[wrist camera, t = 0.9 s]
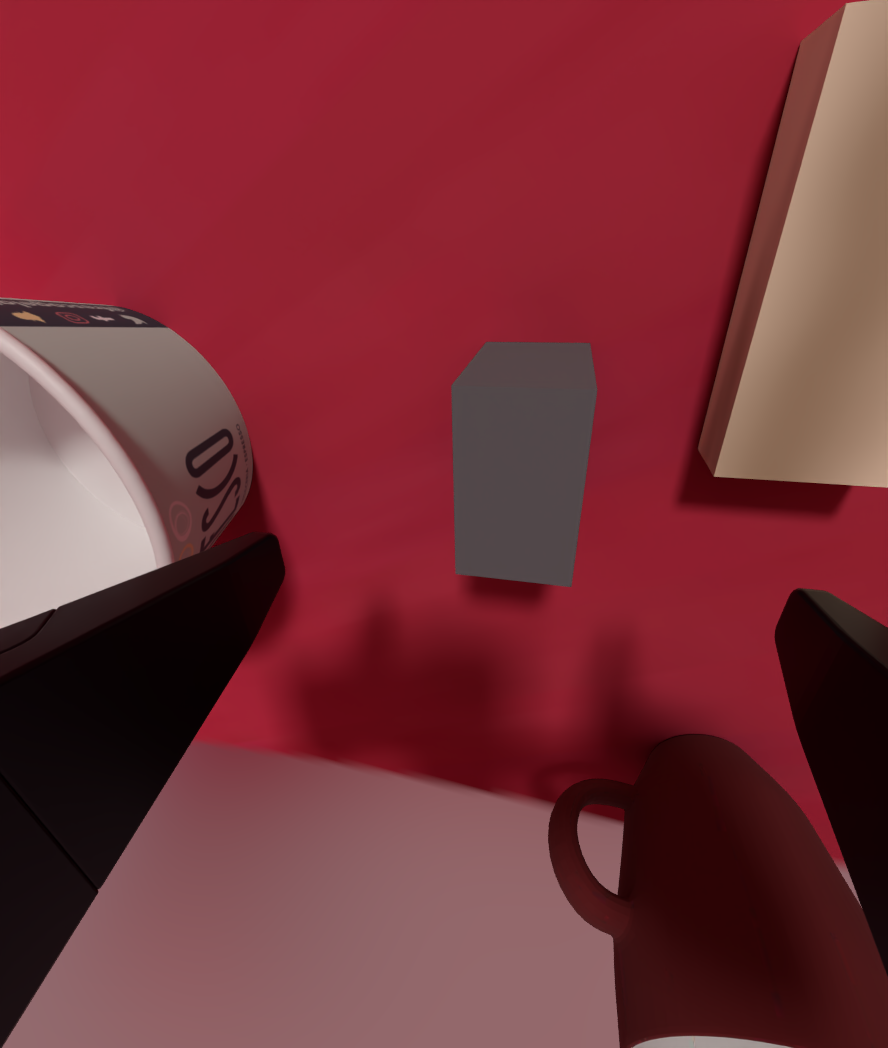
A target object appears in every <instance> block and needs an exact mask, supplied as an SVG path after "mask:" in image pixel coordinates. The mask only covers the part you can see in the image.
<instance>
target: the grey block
mask: <svg viewBox="0 0 888 1048" xmlns="http://www.w3.org/2000/svg"><path fill="white" fill-rule="evenodd" d="M451 387H452V432H453V477H454V523H455V568H456V574H461V575H470V576H478V577H487V578H496V579H505V580H514V581H523V582H532V583H540V584H549V585H558V586H567V587H571V585H572V577H573V570H574V562H575V555H576V547H577V540H578V532H579V524H580V517H581V509H582V502H583V494H584V486H585V479H586V471H587V464H588V456H589V448H590V441H591V433H592V426H593V418H594V411H595V403H596V395H597V385H596V379H595V372H594V365H593V359H592V352H591V346H590V343H535V342H486V343H485V344H484V346H483V347H482V348H481V349H480V351H479V352H478V353H477V354H476V356H475V357H474V358H473V359H472V361H471V362H470V363H469V364H468V366H467V367H466V368H465V369H464V371H463V372H462V373H461V374H460V375H459V377H458V378H457V379H456V380H455V382H454V383H453V384H452V385H451Z"/></svg>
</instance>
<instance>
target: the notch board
mask: <svg viewBox="0 0 888 1048" xmlns="http://www.w3.org/2000/svg"><path fill="white" fill-rule="evenodd" d="M698 450H699V452H700V454H701V455H702V457H703V459H704V461H705V462H706V464H707V466H708V467H709V469H710V471H711V473H712V474H713V476H714V477H728V478H744V479H760V480H776V481H792V482H808V483H824V484H840V485H856V486H872V487H888V0H870V1H862V2H853V3H846V4H845V5H844V6H843V7H842V8H840V9H839V10H838V11H837V12H836V13H834V14H833V15H832V16H831V17H830V18H828V19H827V20H826V21H825V22H824V23H823V24H821V25H820V26H819V27H818V28H817V29H815V30H814V31H813V32H812V33H811V34H809V35H808V36H807V37H806V38H805V39H804V40H802V41H801V43H800V47H799V51H798V55H797V59H796V63H795V67H794V71H793V75H792V79H791V83H790V87H789V91H788V95H787V99H786V103H785V106H784V110H783V114H782V118H781V122H780V126H779V130H778V134H777V138H776V142H775V146H774V150H773V154H772V158H771V162H770V166H769V170H768V173H767V177H766V181H765V185H764V189H763V193H762V197H761V201H760V205H759V209H758V213H757V217H756V221H755V225H754V229H753V233H752V237H751V241H750V244H749V248H748V252H747V256H746V260H745V264H744V268H743V272H742V276H741V280H740V284H739V288H738V292H737V296H736V300H735V304H734V308H733V311H732V315H731V319H730V323H729V327H728V331H727V335H726V339H725V343H724V347H723V351H722V355H721V359H720V363H719V367H718V371H717V375H716V378H715V382H714V386H713V390H712V394H711V398H710V402H709V406H708V410H707V414H706V418H705V422H704V426H703V430H702V434H701V438H700V442H699V445H698Z"/></svg>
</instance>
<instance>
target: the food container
mask: <svg viewBox="0 0 888 1048" xmlns="http://www.w3.org/2000/svg"><path fill="white" fill-rule="evenodd" d="M252 473H253V458H252V449H251V444H250V439H249V435H248V432H247V428H246V425H245V422H244V420H243V417H242V415H241V413H240V410H239V408H238V406H237V404H236V402H235V400H234V398H233V397H232V395H231V393H230V391H229V390H228V388H227V387H226V385H225V384H224V382H223V381H222V379H221V378H220V377H219V375H218V374H217V373H216V371H215V370H214V369H213V368H212V366H211V365H210V364H209V363H208V362H207V361H206V360H205V358H204V357H203V356H202V355H201V354H200V353H199V352H198V351H197V350H196V349H195V348H193V347H192V346H191V345H190V344H189V343H188V342H187V341H185V340H184V339H183V338H182V337H180V336H179V335H178V334H176V333H175V332H174V331H172V330H171V329H169V328H168V327H166V326H165V325H163V324H161V323H160V322H158V321H156V320H154V319H152V318H150V317H148V316H146V315H143V314H141V313H139V312H136V311H133V310H130V309H126V308H122V307H117V306H111V305H100V304H86V303H71V302H57V301H42V300H27V299H13V298H0V628H3V627H6V626H9V625H11V624H14V623H17V622H19V621H22V620H25V619H27V618H30V617H33V616H35V615H38V614H40V613H43V612H46V611H48V610H51V609H57V608H58V607H59V606H62V605H64V604H67V603H69V602H72V601H75V600H77V599H80V598H82V597H85V596H88V595H90V594H93V593H95V592H98V591H101V590H103V589H106V588H109V587H111V586H114V585H116V584H119V583H122V582H124V581H127V580H129V579H132V578H135V577H137V576H140V575H142V574H145V573H148V572H150V571H153V570H155V569H158V568H161V567H163V566H166V565H169V564H171V563H174V562H176V561H179V560H182V559H184V558H187V557H189V556H192V555H195V554H197V553H200V552H202V551H205V550H208V549H210V548H211V547H212V545H213V544H214V543H215V541H216V540H217V539H218V537H219V536H220V535H221V533H222V532H223V531H224V529H225V528H226V527H227V525H228V524H229V523H230V521H231V520H232V519H233V517H234V516H235V515H236V513H237V512H238V511H239V509H240V508H241V506H242V505H243V503H244V502H245V500H246V497H247V495H248V492H249V489H250V486H251V481H252Z"/></svg>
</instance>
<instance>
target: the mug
mask: <svg viewBox="0 0 888 1048" xmlns="http://www.w3.org/2000/svg"><path fill="white" fill-rule="evenodd" d="M590 804H603V805H610V806H614V807H618V808H622V809H624V810H625V818H624V831H623V844H622V857H621V867H620V878H619V888H618V895H616V894H614V893H612V892H610V891H609V890H607V889H606V888H605V887H603V886H602V885H601V884H600V883H599V882H598V881H597V879H596V878H595V877H594V876H593V874H592V873H591V871H590V869H589V868H588V866H587V864H586V862H585V859H584V857H583V855H582V852H581V849H580V845H579V841H578V835H577V823H578V817H579V813H580V811H581V809H582V808H583V807H584V806H586V805H590ZM548 843H549V851H550V858H551V862H552V866H553V869H554V873H555V875H556V877H557V880H558V882H559V884H560V887H561V889H562V891H563V893H564V894H565V896H566V898H567V900H568V901H569V903H570V904H571V905H572V907H573V908H574V910H575V911H576V912H577V913H578V914H579V915H580V916H581V917H582V918H583V919H584V920H585V921H586V922H587V923H589V924H590V925H592V926H593V927H595V928H596V929H599V930H600V931H602V932H605V933H607V934H609V935H611V936H612V937H613V942H614V971H615V990H616V1003H617V1015H618V1029H619V1042H620V1048H888V977H887V974H886V971H885V969H884V966H883V963H882V960H881V958H880V955H879V952H878V950H877V947H876V944H875V942H874V939H873V936H872V933H871V931H870V928H869V925H868V923H867V920H866V917H865V915H864V912H863V909H862V908H861V906H860V904H859V903H858V901H857V899H856V898H855V896H854V894H853V893H852V891H851V889H850V888H849V886H848V884H847V883H846V881H845V879H844V878H843V877H842V874H841V873H840V871H839V869H838V868H837V866H836V864H835V863H834V861H833V859H832V858H831V856H830V855H829V853H828V851H827V850H826V848H825V846H824V845H823V843H822V841H821V840H820V838H819V836H818V835H817V833H816V831H815V830H814V828H813V826H812V825H811V823H810V822H809V820H808V819H807V817H806V815H805V814H804V813H803V811H802V810H801V809H800V807H799V806H798V805H797V803H796V802H795V801H794V800H793V799H792V798H791V796H790V795H789V794H788V793H787V792H786V791H785V790H784V789H783V788H782V787H781V786H780V785H779V784H778V783H777V782H776V781H775V780H774V779H773V778H772V777H771V776H770V775H769V774H768V773H767V772H766V771H765V770H763V769H762V768H761V767H760V766H759V765H758V764H757V763H756V762H755V761H754V760H753V759H752V758H751V757H750V756H748V755H747V754H746V753H745V752H744V751H743V750H742V749H740V748H739V747H738V746H736V745H735V744H733V743H731V742H729V741H727V740H724V739H721V738H718V737H714V736H709V735H698V734H693V735H682V736H677V737H673V738H671V739H668V740H666V741H664V742H662V743H660V744H659V745H658V746H657V747H656V748H655V749H654V750H653V751H652V753H651V754H650V756H649V758H648V760H647V762H646V764H645V766H644V768H643V769H642V771H641V773H640V775H639V777H638V779H637V781H636V783H635V784H634V786H632V785H629V784H625V783H622V782H617V781H613V780H607V779H589V780H584V781H581V782H579V783H576V784H574V785H572V786H571V787H569V788H568V789H567V790H566V791H564V792H563V794H562V795H561V796H560V797H559V799H558V800H557V802H556V804H555V806H554V809H553V811H552V813H551V817H550V822H549V832H548Z"/></svg>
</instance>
